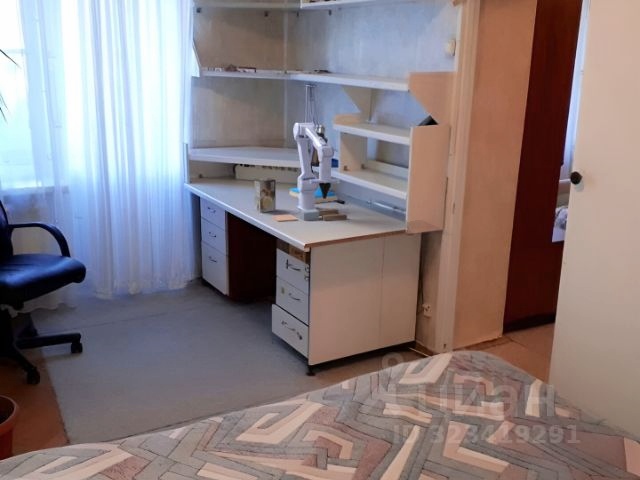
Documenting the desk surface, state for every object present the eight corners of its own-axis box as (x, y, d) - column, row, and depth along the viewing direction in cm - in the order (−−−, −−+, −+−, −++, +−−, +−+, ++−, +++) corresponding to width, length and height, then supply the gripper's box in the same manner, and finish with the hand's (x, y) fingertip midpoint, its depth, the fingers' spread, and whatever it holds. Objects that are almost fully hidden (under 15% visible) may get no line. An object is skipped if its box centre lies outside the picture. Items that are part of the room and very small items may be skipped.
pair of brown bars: (313, 214, 334) (313, 210, 333) (335, 212, 338) (335, 208, 338) (324, 220, 321) (324, 216, 321) (346, 219, 326) (346, 215, 325)
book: (312, 197, 356) (288, 188, 376) (312, 205, 357) (288, 195, 377) (338, 194, 365) (314, 185, 385) (338, 202, 366) (314, 192, 386)
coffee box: (269, 208, 344) (269, 177, 339) (275, 210, 338) (276, 179, 334) (253, 210, 339) (253, 178, 334) (259, 212, 334) (260, 181, 329)
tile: (271, 216, 326) (271, 215, 326) (290, 215, 329) (290, 214, 329) (278, 221, 317) (278, 220, 317) (297, 220, 320) (297, 219, 320)
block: (299, 218, 325) (299, 210, 324) (314, 217, 329) (314, 209, 328) (303, 220, 321) (304, 212, 320) (318, 219, 324) (319, 211, 323)
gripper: (312, 172, 317) (311, 200, 321) (341, 172, 320) (340, 199, 324) (309, 169, 324) (308, 197, 327) (338, 169, 327) (337, 196, 330)
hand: (324, 198), depth 326 cm, fingers closed
